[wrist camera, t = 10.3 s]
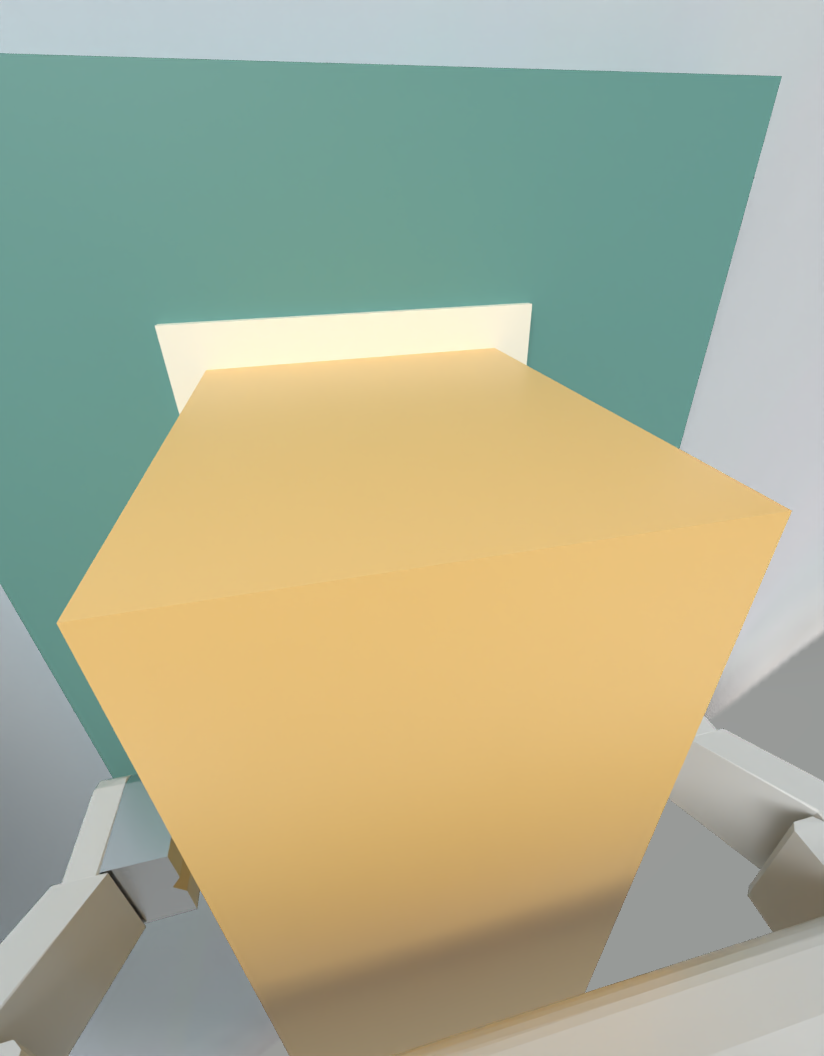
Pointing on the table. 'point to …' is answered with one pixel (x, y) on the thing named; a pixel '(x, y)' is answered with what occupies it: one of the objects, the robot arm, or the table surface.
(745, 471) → the table surface
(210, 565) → the block
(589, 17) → the table surface
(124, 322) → the board
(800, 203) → the table surface
